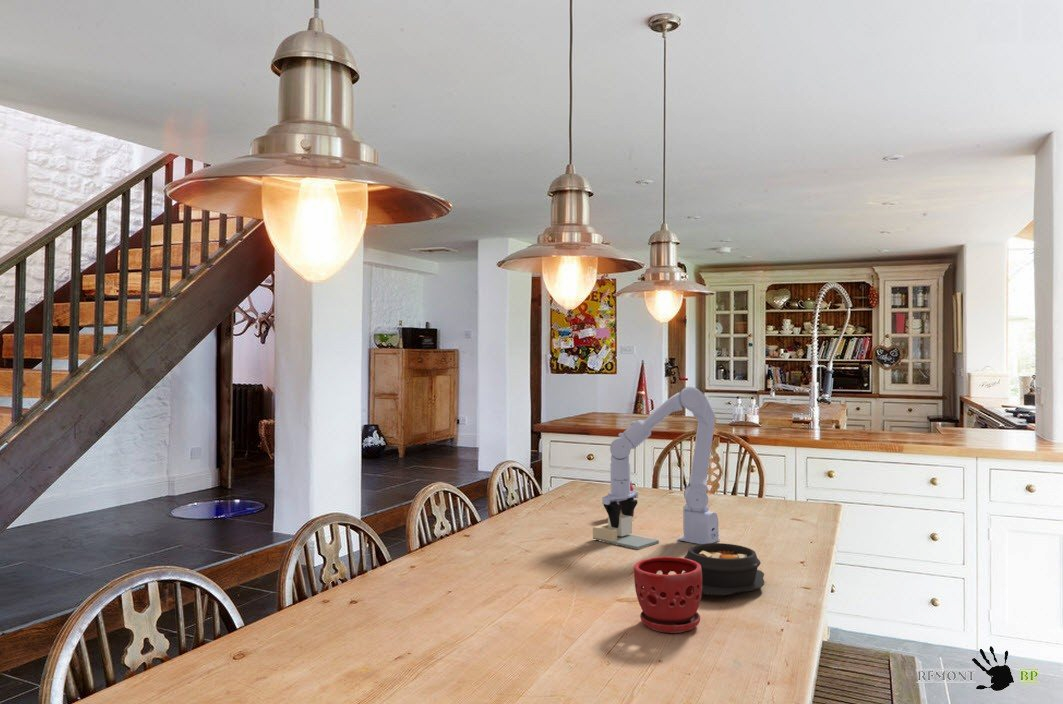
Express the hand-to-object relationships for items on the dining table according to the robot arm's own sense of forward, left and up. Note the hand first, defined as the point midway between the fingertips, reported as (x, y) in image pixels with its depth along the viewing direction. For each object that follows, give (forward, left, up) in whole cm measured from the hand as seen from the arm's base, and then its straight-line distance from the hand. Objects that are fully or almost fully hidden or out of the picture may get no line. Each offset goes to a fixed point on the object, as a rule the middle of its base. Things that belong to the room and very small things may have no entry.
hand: (620, 525), depth 215 cm
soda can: (+17, -23, -4) cm, 28 cm away
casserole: (-45, +21, -4) cm, 50 cm away
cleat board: (-3, +2, -4) cm, 5 cm away
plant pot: (-50, +50, -4) cm, 71 cm away
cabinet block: (0, 0, -2) cm, 2 cm away
